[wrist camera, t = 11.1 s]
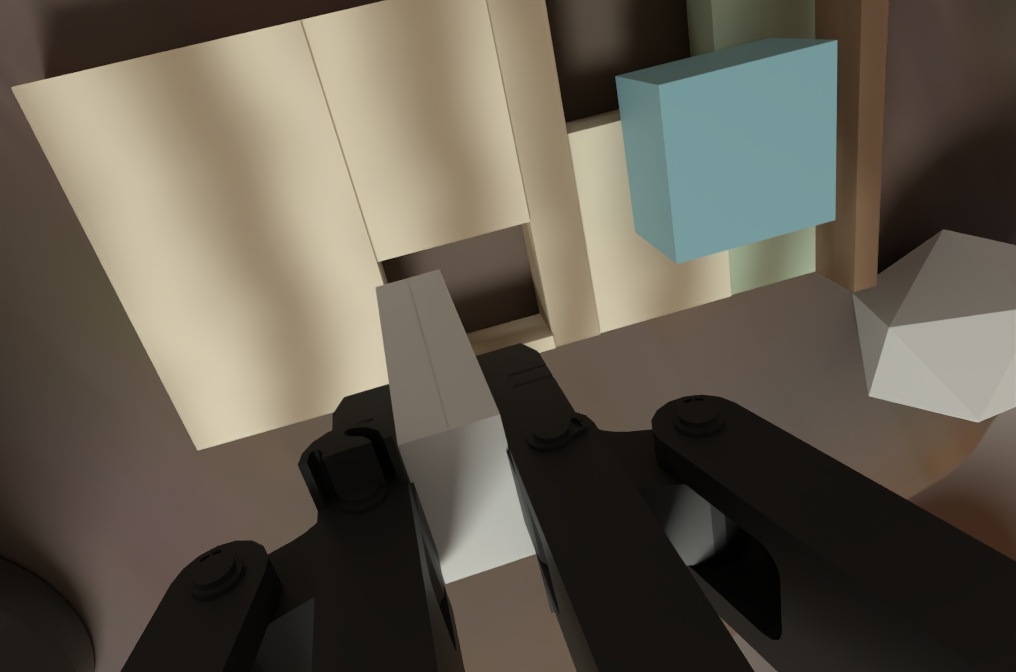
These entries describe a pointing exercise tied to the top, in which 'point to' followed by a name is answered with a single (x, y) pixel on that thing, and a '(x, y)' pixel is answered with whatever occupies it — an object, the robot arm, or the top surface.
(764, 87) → the block
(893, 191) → the top surface
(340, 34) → the trap board
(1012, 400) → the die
